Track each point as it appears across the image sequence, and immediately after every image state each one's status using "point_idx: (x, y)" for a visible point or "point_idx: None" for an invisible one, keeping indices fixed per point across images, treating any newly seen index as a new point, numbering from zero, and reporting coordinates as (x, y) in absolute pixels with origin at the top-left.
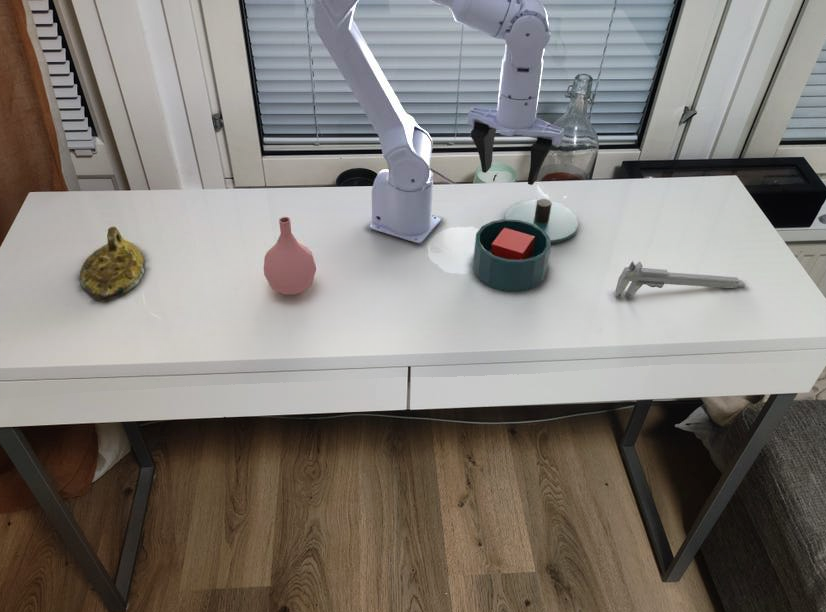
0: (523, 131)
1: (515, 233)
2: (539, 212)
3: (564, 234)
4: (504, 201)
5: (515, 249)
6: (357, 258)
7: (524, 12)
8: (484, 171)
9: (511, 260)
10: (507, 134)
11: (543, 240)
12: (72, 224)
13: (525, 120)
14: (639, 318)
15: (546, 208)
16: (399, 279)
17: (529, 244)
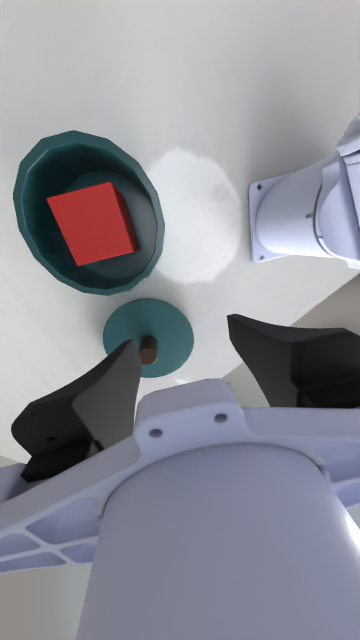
0: (99, 475)
1: (106, 249)
2: (146, 342)
3: (108, 336)
4: (209, 347)
5: (65, 200)
6: (322, 52)
7: None
8: (231, 315)
9: (37, 153)
10: (162, 398)
11: (73, 276)
12: None
13: (88, 603)
14: None
15: (139, 350)
16: (224, 51)
17: (64, 237)
